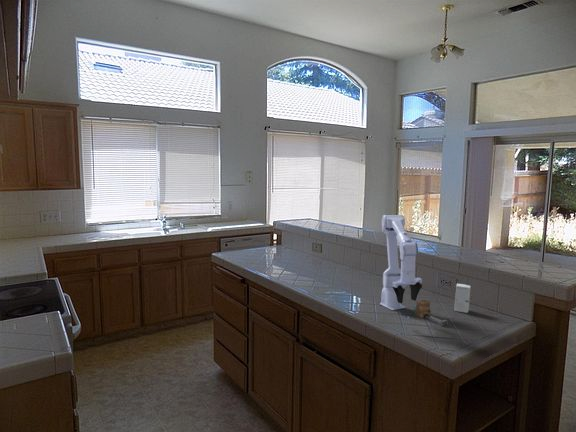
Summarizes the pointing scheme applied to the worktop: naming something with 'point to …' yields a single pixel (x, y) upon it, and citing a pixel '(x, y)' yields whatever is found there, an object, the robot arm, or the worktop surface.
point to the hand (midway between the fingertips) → (406, 301)
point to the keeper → (422, 308)
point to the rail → (434, 319)
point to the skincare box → (462, 298)
